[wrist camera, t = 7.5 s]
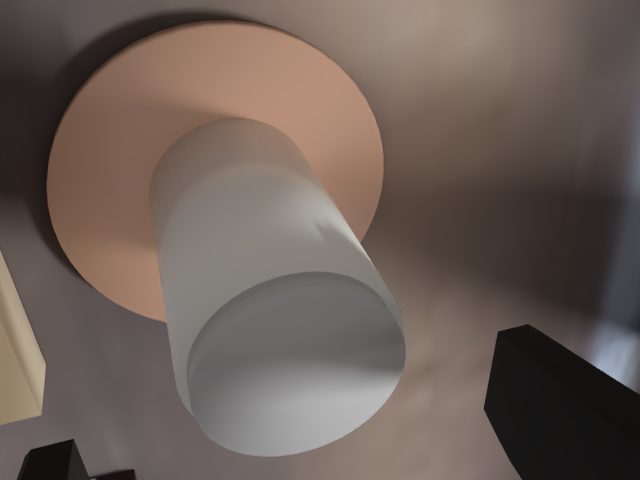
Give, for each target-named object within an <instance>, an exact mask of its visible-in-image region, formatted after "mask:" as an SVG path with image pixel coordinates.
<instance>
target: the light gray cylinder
mask: <svg viewBox="0 0 640 480" xmlns="http://www.w3.org/2000/svg"><path fill="white" fill-rule="evenodd" d="M149 205H150V212H151V219H152V226H153V232H154V239H155V246H156V253H157V260H158V266H159V273H160V280H161V287H162V294H163V300H164V307H165V314H166V321H167V328H168V334H169V341H170V348H171V355H172V362H173V368H174V375H175V382H176V387H177V390H178V393H179V396H180V398H181V400H182V402H183V404H184V406H185V407H186V408H187V409H188V411H189V412H190V413H191V414H192V415H193V416H194V418H195V420H196V422H197V424H198V425H199V427H200V428H201V430H202V431H203V432H204V433H205V434H206V435H207V436H208V437H209V438H210V439H211V440H213V441H214V442H216V443H217V444H219V445H221V446H222V447H224V448H227V449H229V450H232V451H234V452H238V453H242V454H246V455H253V456H268V457H269V456H284V455H291V454H296V453H301V452H305V451H309V450H312V449H315V448H318V447H321V446H323V445H326V444H328V443H331V442H333V441H335V440H337V439H339V438H341V437H343V436H345V435H346V434H348V433H350V432H351V431H353V430H355V429H356V428H357V427H359V426H360V425H361V424H363V423H364V422H365V421H367V420H368V419H369V418H370V417H371V416H372V415H374V414H375V413H376V412H377V411H378V409H379V408H380V407H381V406H382V405H383V404H384V403H385V402H386V400H387V399H388V398H389V397H390V395H391V393H392V392H393V390H394V389H395V387H396V385H397V383H398V381H399V379H400V377H401V374H402V371H403V368H404V362H405V341H404V337H403V322H402V317H401V312H400V309H399V306H398V304H397V301H396V300H395V298H394V297H393V295H392V293H391V292H390V290H389V288H388V287H387V285H386V284H385V282H384V281H383V279H382V277H381V276H380V274H379V273H378V271H377V270H376V268H375V266H374V265H373V263H372V262H371V260H370V258H369V257H368V255H367V254H366V252H365V251H364V249H363V247H362V246H361V244H360V243H359V241H358V240H357V238H356V236H355V235H354V233H353V232H352V230H351V229H350V227H349V225H348V224H347V222H346V221H345V219H344V217H343V216H342V214H341V213H340V211H339V210H338V208H337V206H336V205H335V203H334V202H333V200H332V199H331V197H330V195H329V194H328V192H327V191H326V189H325V188H324V186H323V184H322V183H321V181H320V180H319V178H318V176H317V175H316V173H315V172H314V170H313V169H312V167H311V165H310V164H309V162H308V161H307V159H306V158H305V156H304V154H303V153H302V151H301V150H300V148H299V147H298V146H297V145H296V143H295V142H294V141H293V140H292V139H291V138H290V137H289V136H287V135H286V134H285V133H283V132H282V131H280V130H279V129H277V128H275V127H273V126H271V125H269V124H266V123H263V122H260V121H256V120H251V119H240V118H233V119H222V120H217V121H213V122H210V123H207V124H204V125H201V126H199V127H197V128H195V129H192V130H191V131H189V132H188V133H186V134H184V135H183V136H181V137H180V138H179V139H178V140H177V141H175V142H174V143H173V144H172V145H171V146H170V147H169V148H168V149H167V150H166V151H165V153H164V154H163V156H162V157H161V159H160V160H159V162H158V164H157V166H156V168H155V170H154V172H153V175H152V178H151V182H150V188H149Z"/></svg>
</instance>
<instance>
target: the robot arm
mask: <svg viewBox="0 0 640 480" xmlns="http://www.w3.org/2000/svg"><path fill="white" fill-rule="evenodd" d="M484 411H485V413H486V415H487V417H488V419H489V421H490V423H491V425H492V427H493V429H494V431H495V433H496V435H497V437H498V439H499V441H500V443H501V445H502V447H503V449H504V450H505V452H506V454H507V456H508V458H509V460H510V462H511V463H512V465H513V466H514V468H515V469H516V471H517V472H518V474H519V475H520V477H521V478H522V480H640V395H639V394H638V393H636V392H634V391H633V390H631V389H630V388H628V387H626V386H625V385H623V384H622V383H620V382H618V381H617V380H615V379H614V378H612V377H610V376H609V375H607V374H606V373H604V372H603V371H601V370H600V369H598V368H596V367H595V366H593V365H592V364H590V363H589V362H587V361H585V360H584V359H582V358H581V357H579V356H578V355H576V354H575V353H573V352H572V351H570V350H568V349H567V348H565V347H564V346H562V345H561V344H559V343H558V342H556V341H554V340H553V339H551V338H550V337H548V336H547V335H545V334H543V333H542V332H540V331H539V330H537V329H535V328H534V327H532V326H530V325H529V324H527V325H523V326H519V327H515V328H511V329H507V330H503V331H499V332H498V334H497V339H496V345H495V350H494V356H493V361H492V367H491V372H490V378H489V383H488V388H487V394H486V399H485V405H484ZM17 480H90V479H89V476H88V474H87V471H86V469H85V466H84V464H83V461H82V459H81V456H80V454H79V451H78V449H77V446H76V444H75V441H74V439H71V440H67V441H63V442H59V443H55V444H51V445H47V446H43V447H39V448H35V449H31V450H30V451H29V453H28V454H27V455H26V456H25V458H24V461H23V464H22V467H21V470H20V472H19V475H18V478H17Z"/></svg>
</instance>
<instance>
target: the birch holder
mask: <svg viewBox="0 0 640 480" xmlns="http://www.w3.org/2000/svg"><path fill="white" fill-rule="evenodd" d="M45 369H46V364H45V361H44V359H43V356H42V354H41V351H40V349H39V346H38V344H37V341H36V339H35V336H34V334H33V331H32V329H31V326H30V324H29V321H28V319H27V316H26V314H25V311H24V309H23V306H22V304H21V301H20V298H19V296H18V293H17V291H16V288H15V286H14V283H13V281H12V278H11V276H10V273H9V271H8V268H7V266H6V263H5V261H4V258H3V256H2V253H1V251H0V425H2V424H6V423H10V422H15V421H19V420H23V419H27V418H31V417H36V416H40V415H41V414H42V402H43V391H44V380H45Z"/></svg>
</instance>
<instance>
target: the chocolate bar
mask: <svg viewBox="0 0 640 480" xmlns="http://www.w3.org/2000/svg"><path fill="white" fill-rule="evenodd" d="M90 480H136V475H135V470H130V471H126V472H121V473H117V474H112V475H108V476H103V477H99V478H94V479H90Z"/></svg>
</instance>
